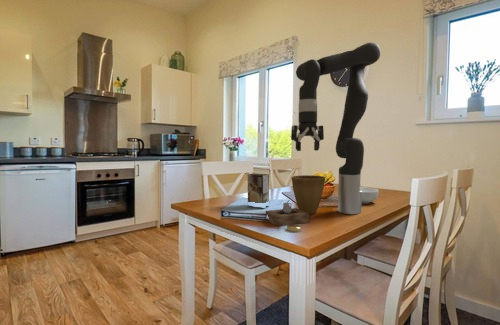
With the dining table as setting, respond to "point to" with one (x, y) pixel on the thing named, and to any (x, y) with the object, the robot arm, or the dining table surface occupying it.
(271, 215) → the slot block
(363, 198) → the cereal bowl
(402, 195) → the dining table surface
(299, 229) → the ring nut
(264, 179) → the coffee box
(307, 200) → the plant pot
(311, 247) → the dining table surface
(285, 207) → the pin
